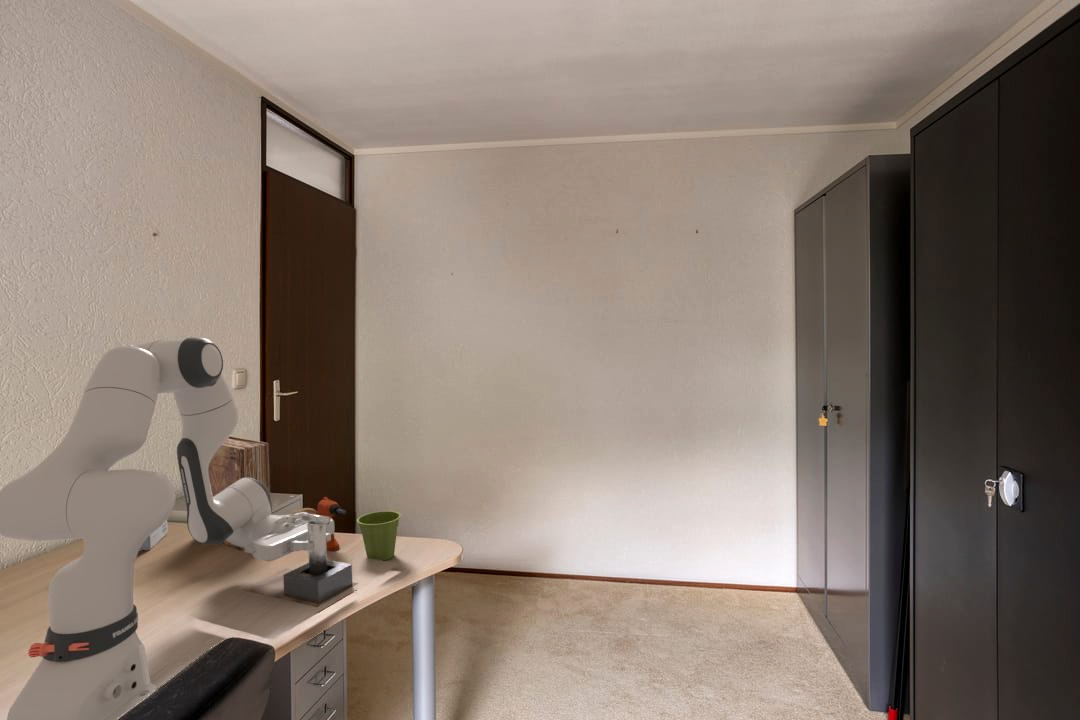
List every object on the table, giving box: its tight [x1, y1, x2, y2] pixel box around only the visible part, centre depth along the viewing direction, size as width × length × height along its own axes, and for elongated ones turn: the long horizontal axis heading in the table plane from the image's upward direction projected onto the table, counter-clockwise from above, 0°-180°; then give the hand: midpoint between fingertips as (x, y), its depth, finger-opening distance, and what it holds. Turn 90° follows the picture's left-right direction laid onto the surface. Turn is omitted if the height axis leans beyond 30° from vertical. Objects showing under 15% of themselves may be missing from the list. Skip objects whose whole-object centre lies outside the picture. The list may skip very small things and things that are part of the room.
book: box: [208, 436, 271, 551], centre depth 174 cm, size 25×9×30 cm, turn 54°
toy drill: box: [316, 496, 347, 552], centre depth 161 cm, size 5×19×15 cm, turn 40°
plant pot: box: [356, 510, 402, 562], centre depth 157 cm, size 12×12×11 cm
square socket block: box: [283, 559, 353, 604], centre depth 133 cm, size 11×11×5 cm
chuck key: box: [301, 513, 331, 576], centre depth 133 cm, size 8×4×14 cm, turn 66°
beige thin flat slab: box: [241, 568, 359, 614], centre depth 136 cm, size 24×13×2 cm, turn 66°
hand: (320, 542), depth 132 cm, fingers closed on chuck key, 4 cm apart
